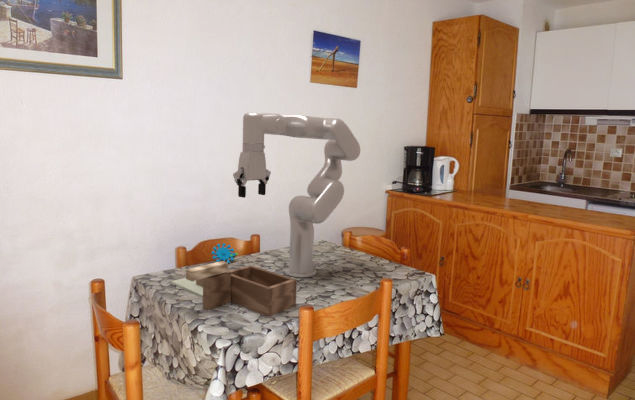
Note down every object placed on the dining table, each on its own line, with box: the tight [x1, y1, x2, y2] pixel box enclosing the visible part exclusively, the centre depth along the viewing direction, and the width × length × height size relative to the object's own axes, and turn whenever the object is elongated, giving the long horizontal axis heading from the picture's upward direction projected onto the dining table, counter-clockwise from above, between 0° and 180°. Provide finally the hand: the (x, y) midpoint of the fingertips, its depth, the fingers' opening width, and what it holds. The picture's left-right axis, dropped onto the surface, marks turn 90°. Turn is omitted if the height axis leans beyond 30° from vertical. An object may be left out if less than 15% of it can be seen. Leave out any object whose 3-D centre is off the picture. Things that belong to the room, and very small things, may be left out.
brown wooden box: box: [202, 265, 298, 318], centre depth 154 cm, size 22×22×10 cm
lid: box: [170, 277, 203, 299], centre depth 170 cm, size 13×22×6 cm, turn 49°
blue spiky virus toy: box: [211, 242, 239, 265], centre depth 203 cm, size 11×6×10 cm
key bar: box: [185, 260, 229, 281], centre depth 150 cm, size 14×3×3 cm, turn 141°
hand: (252, 195), depth 171 cm, fingers open, 9 cm apart
